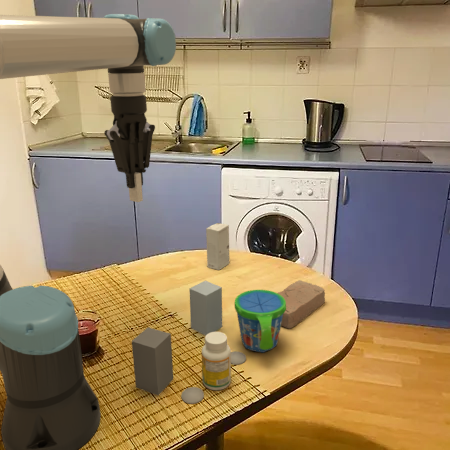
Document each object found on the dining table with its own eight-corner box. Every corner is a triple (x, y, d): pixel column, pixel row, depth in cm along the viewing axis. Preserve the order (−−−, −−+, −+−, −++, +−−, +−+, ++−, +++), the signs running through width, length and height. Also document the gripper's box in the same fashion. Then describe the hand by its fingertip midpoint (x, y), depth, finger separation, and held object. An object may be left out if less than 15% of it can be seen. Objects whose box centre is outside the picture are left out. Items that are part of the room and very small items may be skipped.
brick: (297, 293, 119) (298, 276, 117) (326, 303, 113) (327, 286, 112) (259, 319, 107) (259, 301, 105) (289, 332, 102) (290, 313, 100)
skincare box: (219, 270, 131) (218, 231, 127) (206, 267, 133) (205, 228, 129) (230, 263, 136) (230, 224, 132) (217, 259, 138) (216, 222, 134)
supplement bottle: (225, 394, 83) (224, 348, 79) (197, 387, 84) (196, 342, 81) (234, 375, 87) (234, 332, 84) (208, 369, 89) (207, 327, 86)
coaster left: (194, 407, 79) (193, 405, 79) (176, 397, 82) (176, 396, 82) (208, 394, 82) (208, 392, 82) (191, 385, 85) (191, 384, 85)
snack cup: (234, 323, 105) (234, 283, 101) (280, 323, 105) (281, 283, 101) (234, 366, 90) (234, 321, 87) (288, 366, 90) (290, 321, 86)
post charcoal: (158, 395, 82) (154, 348, 79) (135, 387, 84) (131, 341, 81) (173, 379, 87) (170, 333, 83) (151, 371, 89) (148, 327, 85)
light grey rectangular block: (207, 336, 100) (206, 295, 96) (190, 328, 103) (189, 288, 100) (222, 326, 103) (221, 287, 100) (206, 319, 107) (205, 280, 103)
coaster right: (238, 367, 90) (238, 366, 90) (222, 359, 92) (222, 358, 92) (249, 357, 93) (249, 355, 93) (233, 350, 95) (233, 349, 95)
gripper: (138, 92, 105) (145, 191, 113) (91, 95, 95) (103, 204, 103) (162, 93, 100) (167, 196, 108) (116, 97, 90) (125, 210, 98)
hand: (136, 200), depth 105 cm, fingers closed
